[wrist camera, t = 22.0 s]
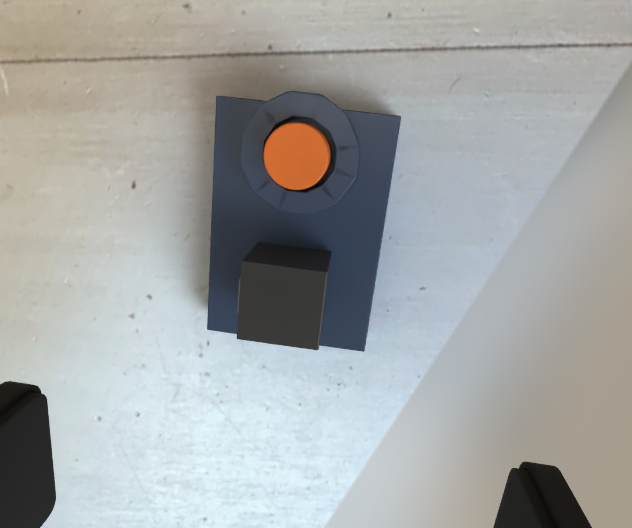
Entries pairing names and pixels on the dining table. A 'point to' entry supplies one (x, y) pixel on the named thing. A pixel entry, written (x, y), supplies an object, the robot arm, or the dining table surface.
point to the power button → (296, 155)
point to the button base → (302, 205)
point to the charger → (283, 295)
